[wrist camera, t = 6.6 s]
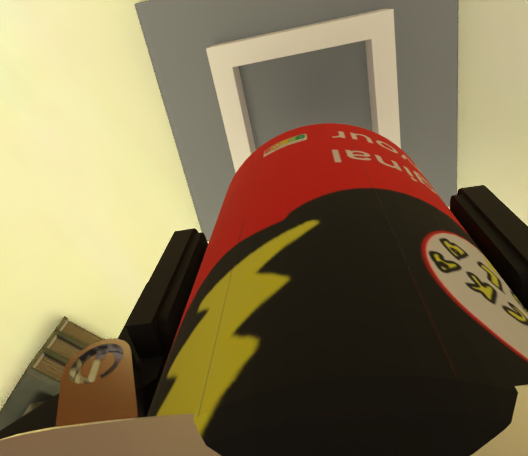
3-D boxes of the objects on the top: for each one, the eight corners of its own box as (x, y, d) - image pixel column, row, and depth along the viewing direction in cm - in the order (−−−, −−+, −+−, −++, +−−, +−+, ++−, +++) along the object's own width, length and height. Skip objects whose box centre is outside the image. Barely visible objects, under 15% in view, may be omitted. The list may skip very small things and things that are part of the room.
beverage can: (411, 286, 15) (680, 925, 5) (237, 290, 16) (123, 871, 5) (430, 107, 12) (1243, 718, 2) (216, 120, 13) (-137, 644, 2)
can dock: (453, -70, 23) (477, -81, 20) (452, 200, 30) (470, 221, 27) (138, 4, 25) (118, 3, 22) (206, 236, 32) (198, 259, 30)
